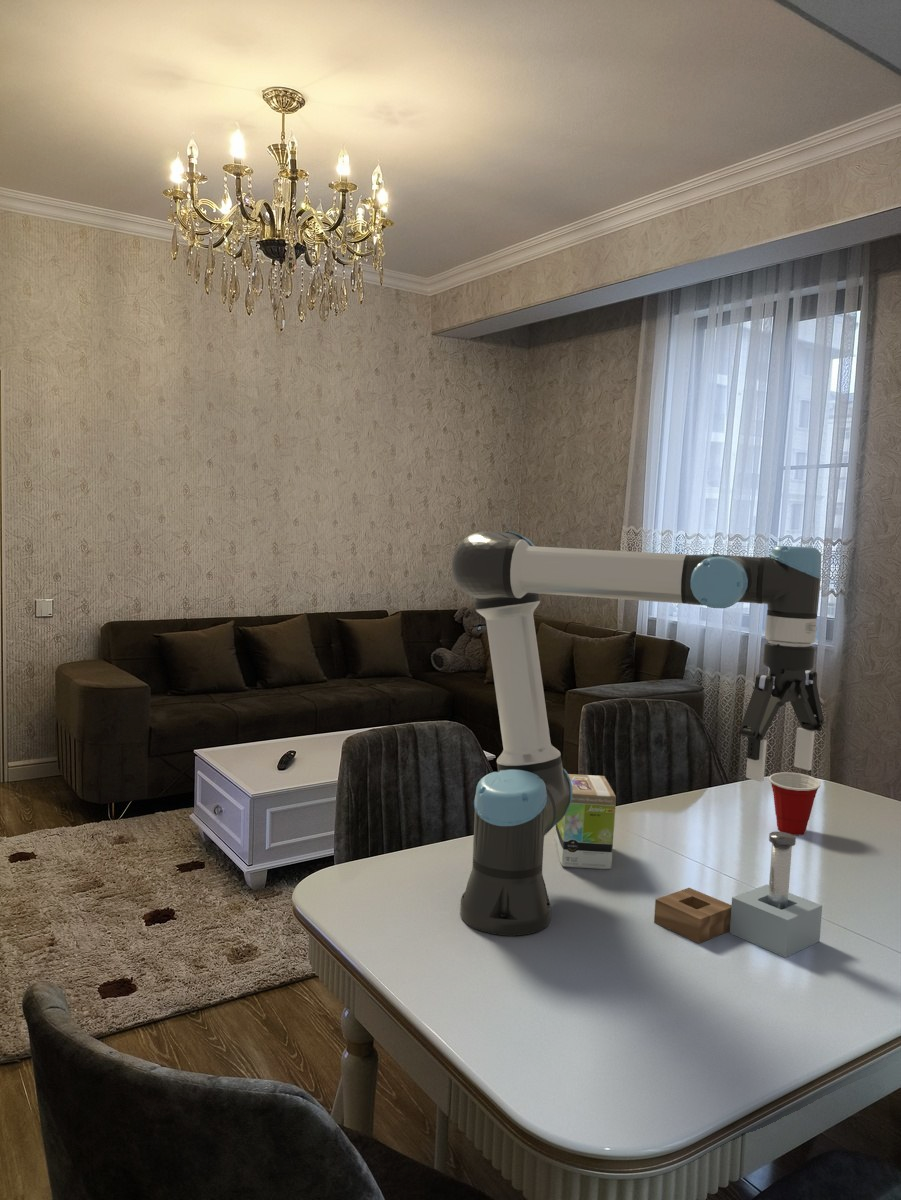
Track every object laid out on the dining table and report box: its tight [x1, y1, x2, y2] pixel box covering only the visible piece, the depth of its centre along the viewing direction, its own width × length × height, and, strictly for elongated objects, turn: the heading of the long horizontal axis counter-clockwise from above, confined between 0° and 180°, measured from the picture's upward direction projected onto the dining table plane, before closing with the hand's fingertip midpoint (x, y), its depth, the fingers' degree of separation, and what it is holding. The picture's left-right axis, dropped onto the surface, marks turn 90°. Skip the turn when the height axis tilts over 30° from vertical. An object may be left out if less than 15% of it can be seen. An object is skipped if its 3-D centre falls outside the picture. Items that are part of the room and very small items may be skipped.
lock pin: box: [768, 831, 797, 910], centre depth 144 cm, size 4×4×17 cm
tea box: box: [554, 773, 617, 870], centre depth 178 cm, size 15×10×15 cm, turn 179°
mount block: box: [653, 887, 732, 944], centre depth 148 cm, size 9×9×4 cm
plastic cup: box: [768, 771, 822, 836], centre depth 198 cm, size 11×11×12 cm
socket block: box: [729, 884, 823, 958], centre depth 145 cm, size 10×10×6 cm
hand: (779, 773), depth 143 cm, fingers open, 13 cm apart
